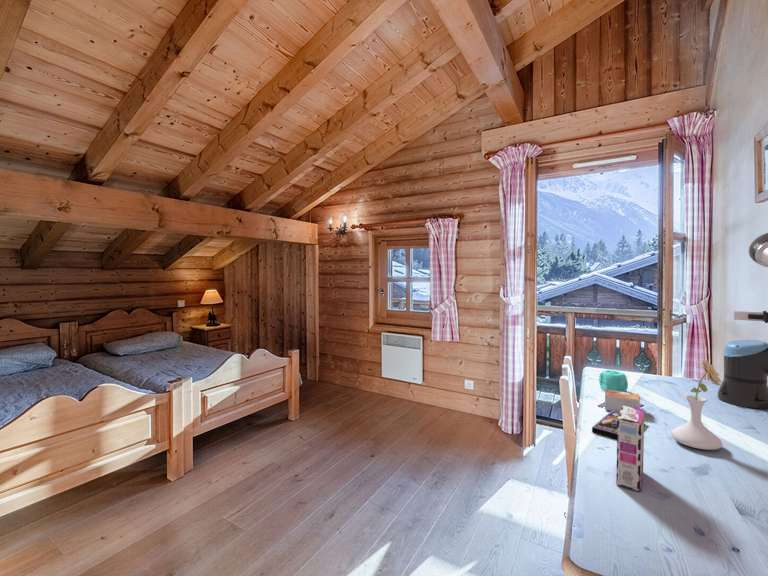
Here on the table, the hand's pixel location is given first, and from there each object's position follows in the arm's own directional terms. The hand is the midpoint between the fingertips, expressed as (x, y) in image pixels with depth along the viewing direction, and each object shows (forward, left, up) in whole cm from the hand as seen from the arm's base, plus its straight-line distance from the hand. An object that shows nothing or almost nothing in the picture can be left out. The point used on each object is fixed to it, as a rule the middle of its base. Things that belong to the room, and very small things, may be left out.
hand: (734, 315), depth 116 cm
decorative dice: (-6, -38, -36) cm, 53 cm away
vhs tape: (+32, -21, -37) cm, 53 cm away
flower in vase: (+26, -3, -36) cm, 45 cm away
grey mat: (+10, -29, -36) cm, 48 cm away
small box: (+12, -22, -33) cm, 42 cm away
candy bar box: (+61, -7, -36) cm, 71 cm away
